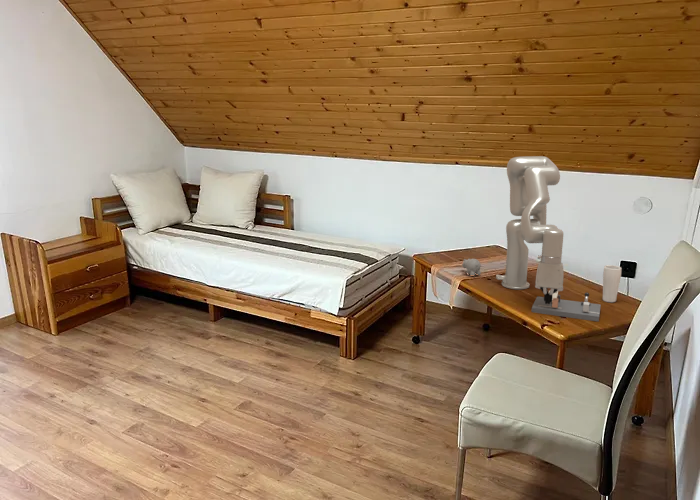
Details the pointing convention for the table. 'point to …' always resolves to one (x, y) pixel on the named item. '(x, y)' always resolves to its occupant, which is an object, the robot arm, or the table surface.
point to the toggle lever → (586, 296)
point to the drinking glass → (611, 282)
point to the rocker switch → (554, 295)
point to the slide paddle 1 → (555, 302)
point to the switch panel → (567, 309)
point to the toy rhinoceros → (472, 266)
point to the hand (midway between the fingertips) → (547, 302)
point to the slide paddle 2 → (586, 307)
